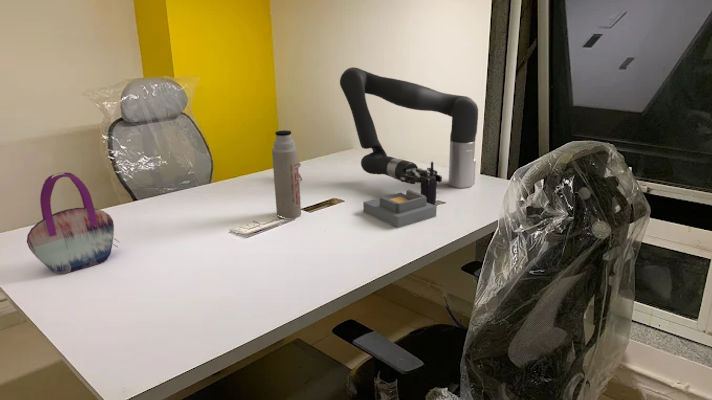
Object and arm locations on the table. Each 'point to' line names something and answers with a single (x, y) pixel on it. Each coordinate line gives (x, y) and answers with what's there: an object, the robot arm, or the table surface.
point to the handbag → (71, 232)
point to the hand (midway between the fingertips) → (434, 180)
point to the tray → (400, 208)
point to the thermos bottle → (286, 175)
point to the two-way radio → (430, 187)
